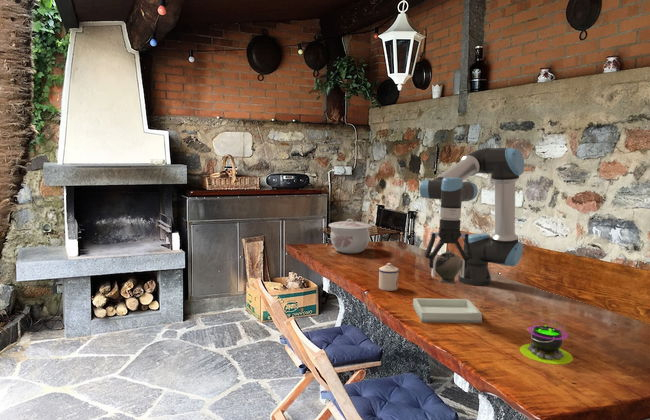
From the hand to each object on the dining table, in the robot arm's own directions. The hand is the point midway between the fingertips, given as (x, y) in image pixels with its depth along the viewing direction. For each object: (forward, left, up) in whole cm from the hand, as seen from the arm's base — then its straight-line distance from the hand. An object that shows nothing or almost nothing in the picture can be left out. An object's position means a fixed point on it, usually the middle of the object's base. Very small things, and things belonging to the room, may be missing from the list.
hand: (447, 276), depth 177 cm
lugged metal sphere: (0, 0, -2) cm, 2 cm away
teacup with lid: (+18, -36, -15) cm, 43 cm away
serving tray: (0, 0, -15) cm, 15 cm away
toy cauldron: (-23, +34, -15) cm, 44 cm away
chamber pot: (+32, -114, -15) cm, 119 cm away
